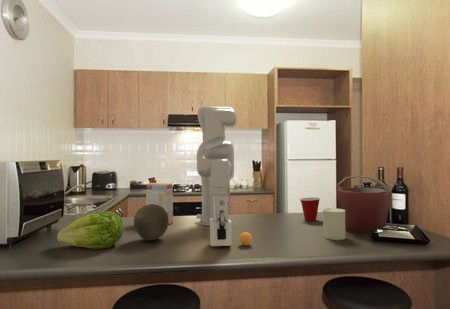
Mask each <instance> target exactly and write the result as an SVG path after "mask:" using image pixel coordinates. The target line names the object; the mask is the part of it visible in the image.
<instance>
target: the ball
mask: <svg viewBox="0 0 450 309" xmlns="http://www.w3.org/2000/svg"><path fill="white" fill-rule="evenodd" d="M252 242H253V236H252V234H251V233H249V232H247V231H244V232H242V233H240V234H239V243H240V244H241V245H243V246H250V244H252Z"/></svg>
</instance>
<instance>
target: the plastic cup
mask: <svg viewBox="0 0 450 309" xmlns="http://www.w3.org/2000/svg"><path fill="white" fill-rule="evenodd" d="M320 200H321V198H320V197H302V198H299V201H300V204H301V206H302V207H301V208H302V213H303V216H304V221H307V222H315V221H317V217H318V212H319V204H320Z"/></svg>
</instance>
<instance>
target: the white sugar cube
mask: <svg viewBox="0 0 450 309" xmlns="http://www.w3.org/2000/svg"><path fill="white" fill-rule="evenodd" d="M220 223H221V222H219V224H220ZM225 226H226V239H224V240H218V239H217V229H218V222H217V221H216V220H215V218H210V226H209V244H210V247H222V246H223V247H225V246H226V247H227V246H229V247H230V246H232V241H233V240H232V221H231V219H230V218H229V221H228V222H227V221H226V220H225Z"/></svg>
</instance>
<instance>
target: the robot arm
mask: <svg viewBox="0 0 450 309" xmlns="http://www.w3.org/2000/svg"><path fill="white" fill-rule="evenodd" d="M197 119H198V124H199V125H200V128H201V132H202V142H201V143H200V145H199V146H198V149H197V151H196V152H197V153H196V170H197V171H196V172H197V175H198V176H200V179H201V213H199V214H198V213H197V214H196V219H199V225H200V226H204V227H210V218H215V220H216V221H217V222H218V229H217V239H218V240H224V239H226V226H225V220H226V221H227V222H228V221H229V219H230V218H229V216H230V215H229V198H228V196H230V195H231V180H233V178H234V176H235V149H234V144H233V143H232V142H231V141H227V140H226V133H225V129H226V128H227V129H228V128H229V129H230V128H233V129H234V128H235V127H236V126H237V122H238V120H237V119H238V118H237V114H236V111H235V110H234V109H233V107H231V106H213V105H212V106H210V105H209V106H202V107H200V108H198V110H197ZM219 222H221V223H220V224H219Z"/></svg>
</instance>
